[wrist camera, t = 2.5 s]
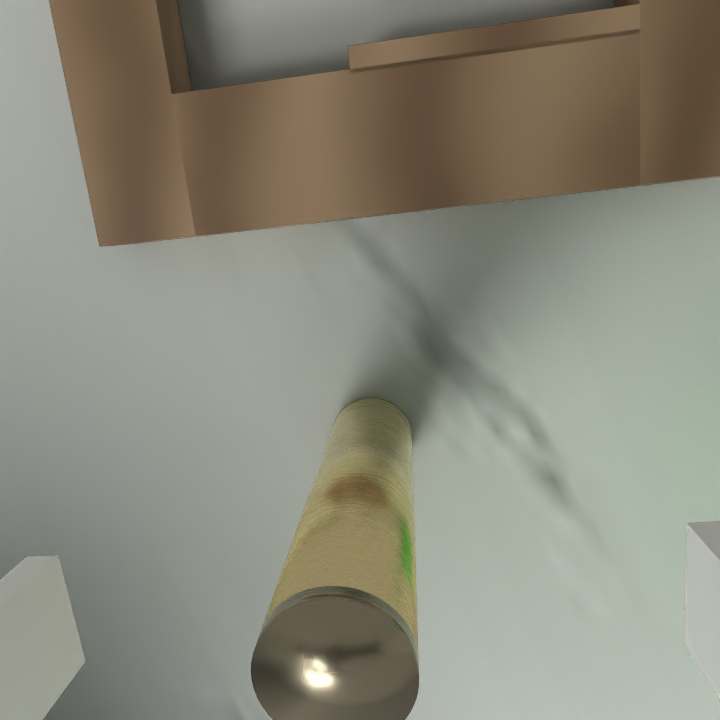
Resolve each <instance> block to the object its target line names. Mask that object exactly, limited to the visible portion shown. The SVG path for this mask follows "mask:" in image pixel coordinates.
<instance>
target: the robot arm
mask: <svg viewBox="0 0 720 720" xmlns="http://www.w3.org/2000/svg"><path fill="white" fill-rule="evenodd" d="M684 645H685V646H686V648H687V649H688V651H689V653H690V654H691V656H692V657H693V659H694V661H695V662H696V664H697V665H698V667H699V669H700V670H701V672H702V673H703V675H704V677H705V678H706V680H707V681H708V683H709V684H710V686H711V688H712V689H713V691H714V692H715V694H716V696H717V697H718V699H719V700H720V521H715V522H696V523H687V534H686V581H685V629H684ZM85 662H86V661H85V657H84V653H83V649H82V645H81V641H80V637H79V633H78V630H77V626H76V622H75V618H74V614H73V610H72V606H71V602H70V599H69V595H68V591H67V587H66V583H65V579H64V575H63V571H62V567H61V564H60V560H59V556H58V555H50V556H30V557H25V558H24V559H23V560H22V561H21V562H20V563H18V564H17V565H16V566H15V567H14V568H13V569H12V570H10V571H9V572H8V573H7V574H6V575H5V576H4V577H3V578H1V579H0V720H43V719H44V717H45V716H46V715H47V713H48V712H49V710H50V709H51V708H52V706H53V705H54V704H55V702H56V701H57V700H58V698H59V697H60V696H61V694H62V693H63V691H64V690H65V689H66V687H67V686H68V685H69V683H70V682H71V681H72V679H73V678H74V676H75V675H76V674H77V672H78V671H79V670H80V668H81V667H82V666H83V664H84V663H85Z"/></svg>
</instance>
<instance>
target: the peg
mask: <svg viewBox="0 0 720 720" xmlns="http://www.w3.org/2000/svg"><path fill="white" fill-rule="evenodd" d="M251 676H252V683H253V687H254V690H255V693H256V695H257V698H258V700H259V701H260V703H261V705H262V707H263V708H264V709H265V711H266V712H267V713H268V715H269V716H270V717H271V718H272V719H273V720H405V719H406V718H407V716H408V715H409V713H410V712H411V710H412V708H413V706H414V704H415V701H416V698H417V694H418V688H419V667H418V632H417V597H416V563H415V528H414V493H413V458H412V431H411V427H410V424H409V421H408V419H407V418H406V416H405V415H404V413H403V412H402V411H401V410H400V409H399V408H398V407H396V406H395V405H394V404H392V403H390V402H388V401H385V400H382V399H377V398H366V399H361V400H357V401H355V402H353V403H351V404H349V405H348V406H347V407H345V408H344V409H343V410H342V411H341V412H340V414H339V415H338V417H337V418H336V420H335V423H334V426H333V429H332V431H331V434H330V437H329V440H328V443H327V446H326V448H325V451H324V454H323V457H322V460H321V463H320V465H319V468H318V471H317V474H316V477H315V480H314V482H313V485H312V488H311V491H310V494H309V497H308V499H307V502H306V505H305V508H304V511H303V514H302V516H301V519H300V522H299V525H298V528H297V531H296V533H295V536H294V539H293V542H292V545H291V548H290V550H289V553H288V556H287V559H286V562H285V565H284V567H283V570H282V573H281V576H280V579H279V582H278V584H277V587H276V590H275V593H274V596H273V599H272V601H271V604H270V607H269V610H268V613H267V616H266V618H265V621H264V624H263V627H262V630H261V633H260V635H259V638H258V641H257V644H256V647H255V650H254V652H253V657H252V662H251Z"/></svg>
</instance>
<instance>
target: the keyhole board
mask: <svg viewBox="0 0 720 720" xmlns="http://www.w3.org/2000/svg"><path fill="white" fill-rule="evenodd" d="M614 2H615V8H609V9H602V10H595V11H588V12H581V13H574V14H567V15H560V16H553V17H546V18H539V19H532V20H525V21H518V22H512V23H505V24H498V25H491V26H484V27H477V28H470V29H463V30H456V31H449V32H442V33H435V34H428V35H421V36H414V37H407V38H400V39H393V40H386V41H380V42H373V43H366V44H359V45H352V46H348V55H349V65H350V69H347V70H340V71H333V72H326V73H319V74H311V75H304V76H297V77H290V78H283V79H276V80H269V81H261V82H254V83H247V84H240V85H233V86H226V87H219V88H211V89H204V90H197V91H192V88H191V82H190V76H189V69H188V63H187V57H186V51H185V45H184V38H183V32H182V26H181V20H180V14H179V8H178V1H177V0H49V3H50V8H51V13H52V18H53V23H54V28H55V32H56V37H57V42H58V47H59V52H60V57H61V62H62V66H63V71H64V76H65V81H66V86H67V91H68V96H69V100H70V105H71V110H72V115H73V120H74V125H75V130H76V134H77V139H78V144H79V149H80V154H81V159H82V164H83V168H84V173H85V178H86V183H87V188H88V193H89V198H90V203H91V207H92V212H93V217H94V222H95V227H96V232H97V237H98V241H99V246H100V247H102V246H114V245H126V244H135V243H144V242H153V241H161V240H170V239H179V238H188V237H196V236H205V235H214V234H223V233H231V232H240V231H249V230H258V229H266V228H275V227H284V226H293V225H301V224H310V223H319V222H328V221H336V220H345V219H354V218H363V217H371V216H380V215H389V214H398V213H406V212H415V211H424V210H433V209H441V208H450V207H459V206H468V205H476V204H485V203H494V202H503V201H511V200H520V199H529V198H538V197H546V196H555V195H564V194H573V193H581V192H590V191H599V190H608V189H616V188H625V187H634V186H642V185H651V184H660V183H669V182H677V181H686V180H695V179H704V178H712V177H719V176H720V0H614Z"/></svg>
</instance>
